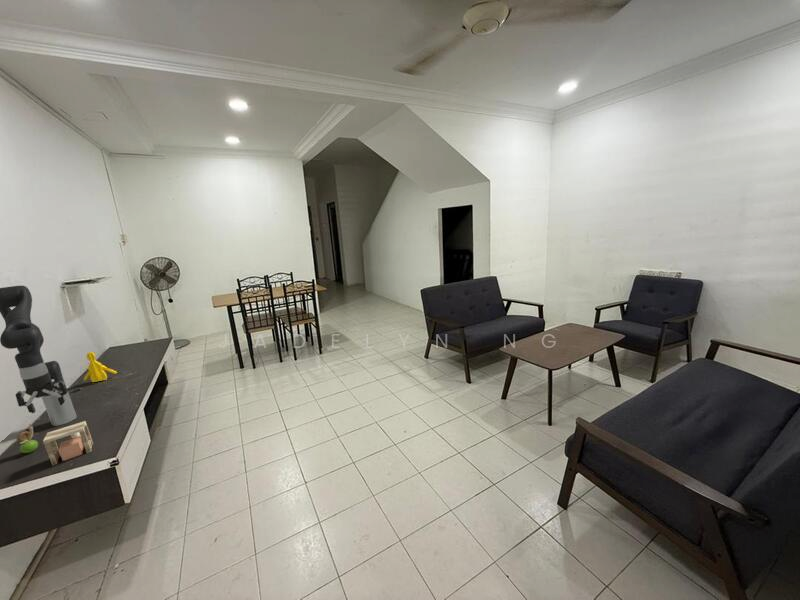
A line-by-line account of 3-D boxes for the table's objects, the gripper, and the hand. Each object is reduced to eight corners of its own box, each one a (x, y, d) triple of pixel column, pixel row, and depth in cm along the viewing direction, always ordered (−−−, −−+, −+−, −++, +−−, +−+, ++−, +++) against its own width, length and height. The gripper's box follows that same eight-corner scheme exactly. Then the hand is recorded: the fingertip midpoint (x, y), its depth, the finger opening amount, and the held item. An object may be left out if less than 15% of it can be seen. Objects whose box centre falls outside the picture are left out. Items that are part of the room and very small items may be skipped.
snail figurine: (45, 445, 147) (36, 423, 144) (30, 455, 140) (21, 432, 138) (34, 446, 147) (25, 424, 144) (18, 456, 140) (8, 433, 138)
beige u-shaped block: (56, 456, 138) (47, 432, 135) (93, 443, 145) (85, 420, 142) (52, 465, 132) (42, 441, 130) (91, 451, 139) (82, 428, 137)
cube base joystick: (69, 443, 146) (64, 429, 145) (87, 437, 150) (82, 424, 148) (63, 461, 135) (57, 446, 133) (82, 454, 138) (76, 439, 136)
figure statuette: (119, 375, 221) (110, 346, 216) (115, 379, 214) (106, 349, 209) (86, 382, 213) (75, 352, 208) (81, 387, 206) (70, 356, 201)
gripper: (61, 366, 140) (72, 398, 143) (12, 377, 131) (26, 411, 135) (57, 371, 134) (69, 405, 138) (6, 383, 125) (20, 419, 129)
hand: (48, 408), depth 136 cm, fingers open, 8 cm apart
